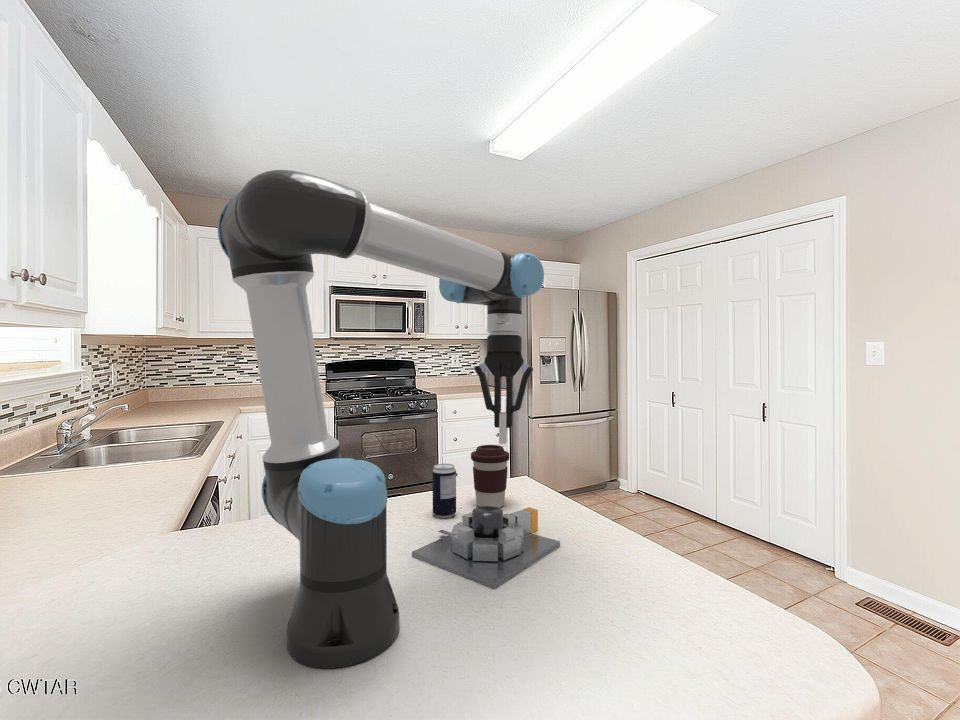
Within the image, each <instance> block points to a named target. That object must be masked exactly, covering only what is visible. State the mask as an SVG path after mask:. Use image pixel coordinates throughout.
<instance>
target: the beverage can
mask: <svg viewBox="0 0 960 720" xmlns="http://www.w3.org/2000/svg"><path fill="white" fill-rule="evenodd" d="M431 475H432V513H433V515H435V517H436V518H439V519H449V518H451V517H454V515H455V513H456V512H457V470H456V467H455V464H453V463H437V464H435V465H434V466H433V470H432V473H431Z"/></svg>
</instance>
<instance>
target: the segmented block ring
mask: <svg viewBox="0 0 960 720" xmlns="http://www.w3.org/2000/svg"><path fill="white" fill-rule="evenodd" d="M536 531H537V532H539V509H537V508H533V507H530V506H528V507H526V508H523V509H520V510H517V511H514V512H513V511H512V512H511V513H503V529H501V530H499V537H498V538H476V537H474V529H472V512H469V513H465V514H462V521H461V522H460V521H459V522H457V523H456V524H455V525H453V527H452V530H451V532H450V533H451V549H452V552H454V553H456V554H458V555H460V556H462V557H464V558H466V559H470V558H473V561H498V558H499V559H501V560H506V559H509V558H511V557H514V556H516V555H519V554H521V551H523V536H524V535H527V534H530V533H534V532H536ZM534 534H535V533H534Z"/></svg>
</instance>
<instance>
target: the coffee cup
mask: <svg viewBox="0 0 960 720" xmlns="http://www.w3.org/2000/svg"><path fill="white" fill-rule="evenodd" d="M470 459H471V461H472V464H473V466H472V473H473V487H474V490H475V502H476V503H475V504H476V506H478V507H483V506H492V507H497V508H500V509H501V508H502V507H504V505H505V502H506V501H505V500H506V499H505V498H506V497H505V496H506V490H507V483H508V482H507V481H508V480H507V479H508V462H509V460H510V452H508V451H506V450H505V448H504V446H502V445H500V444H499V445H498V444H497V445H496V444H482V445H479V446H476V449H475V450H474V451H472V452H471V453H470Z"/></svg>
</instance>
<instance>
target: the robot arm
mask: <svg viewBox="0 0 960 720" xmlns="http://www.w3.org/2000/svg"><path fill="white" fill-rule="evenodd" d="M217 237H218V242H219V244H220V247H221V249H222V251H223V253H224V254H225V256H226V257H227V258H228V261H229V266H230V272H231V276H232V277H231V279H232V281H233V283H235V284H236V285H237V286H239V287H240V288H241V289H243V290H244V291H245V293H246V300H247V307H248V311H249V318H250V324H251V329H252V335H253V341H254V347H255V348H254V349H255V354H256V360H257V366H258V367H257V368H258V372H259V378H260V383H261V385H260V386H261V390H262V396H263V401H264V402H263V403H264V409H265V414H266V420H267V421H266V422H267V427H268V433H269V438H270V440H269V441H270V443H271V444H270V446H269V447H268V448H267V450H266V451H265V452H264V454H263V456H262V461H263V467H264V468H263V469H264V476H263V479H262V483H261V498H262V502H263V504H264V506H265V509H266V512H267V513H268V514H269V516H271V518H272V519H273V520H274V521H275V522H277V523H278V524H279V525H280V526H282V527H283V528H284V529H286V530H287V531H288V532H289V534H290V533H291V535H293V536H294V537H295V538H296V539H297V540H298V542H299V575H300V576H299V587H298V591H297V593H296V596H295V601H294V603H293V608H292V611H291V615H290V618H289V620H288V622H287V626H286V627H287V628H286V648H287V653H289V655H290V656H291V657H292V658H293V660H295V661H297V662H298V663H301V664H303V665H306V666H309V667H314V668H322V669H323V668H324V669H325V668H326V669H328V668H329V669H332V668H343V667H347V666H353V665H356V664H360V663H362V662H365V661H368V660H370V659H372V658H374V657H376V656H378V655H380V654H381V653H382V652H384V651H385V650H386V649H387V648H389V647H390V646H391V645H392V644H393V643H394V642H395V640H396V639H397V637H398V634H399V632H400V609H399V605H398V603H397V599H396V596H395V593H394V591H393V587H392V585H391V583H390V579H389V577H388V576H389V575H388V572H387V557H388V556H387V503H388V490H387V486H386V485H387V484H386V476H385V474H384V472H383V471H382V470H381V468H380V467H379V466H378V465H376V464H375V463H372V462H370V461H367V460H363V459H355V458H349V457H342V453H341V446H340V442H339V440H338V439H337V438H335V437H334V436H332V435H330V434H329V433H328V427H327V425H328V424H327V420H326V413H325V407H324V400H323V393H322V386H321V381H320V380H321V379H320V374H319V367H318V360H317V353H316V347H315V339H314V334H313V333H314V332H313V328H312V320H311V314H310V308H309V302H308V295H307V285H308V284H309V283H310V281H311V280H312V279H313V277H314V276H315V272H314V267H313V258H312V255H327V256H332V257H336V258H341V259H345V260H348V259H350V258H352V257H353V256H355V255H356V256H359V257H363V258H366V259H371V260H374V261H377V262H381V263H383V264H387V265H392V266H395V267H398V268H401V269H405V270H409V271H412V272H415V273H416V272H417V273H418V274H419V273H420V274H424V275H426V276H430V277H434V278H437V279H438V282H439V283H438V284H439V286H438V287H439V288H438V289H439V293H440V295H441V296H442V299H444V300H445V301H448V302H453V303H456V304H467V305H468V304H469V305H470V304H471V305H481V306H486V307H487V318H486V319H487V323H486V326H487V328H486V330H487V331H486V332H487V333H488V334H489V335H487V337H486V355H485V357H484V361H483V362H482V363H481V364H479V365H476V366H475V367H474V371H475V372H476V375H477V376H478V378H479V382H480V386H481V391H482V395H483V401H484V404H485V409H486V410H487V411H491V412H492V413H493V415H494V416H493V417H494V418H493V421H494V422H493V423H494V424H493V425H494V428H498V444H499V445H501V444H502V445H507V443H508V429H511V428H512V426H513V415H514V414H513V413H514V412H517V411H520V409H521V408H522V404H523V401H524V400H523V399H524V397H525V393H526V389H527V385H528V381H529V378H530V376H531V375H532V373H533V372H534V367H533V366H530V365H528V364H527V363H525V362H524V361H525V359H524V358H523V355H522V348H523V347H522V343H523V342H522V341H523V340H522V336H521V335H520V334H521V333H522V331H523V326H522V323H523V314H522V311H523V298H524V297H527V296H531V295H532V296H533V295H535V294H537V293H538V292H539V291H540V290H541V288H542V287H543V285H544V279H545V277H544V276H545V270H544V266H543V263H542V262H541V260H540V258H538V257H537V256H536V255H535V254H533V253H530V252H524V253H521V252H520V253H516V254H510V253H506V252H503V251H500V250H497V249H494V248H492V247H490V246H487V245H485V244H482V243H479V242H476V241H473V240H471V239H468V238H465V237H463V236H459V235H457V234H454V233H452V232H449V231H446V230H443V229H441V228H439V227H436V226H433V225H430V224H428V223H425V222H422V221H420V220H416V219H413V218H411V217H408V216H406V215H403V214H400V213H398V212H394V211H392V210H389V209H387V208H385V207H381V206H378V205H376V204H373V203H370V202H369V201H368V199H367V197H366V195H365V193H363V192H362V191H360V190H357V189H354V188H352V187H348V186H346V185H343V184H341V183H338V182H335V181H332V180H329V179H327V178H325V177H324V178H323V177H321V176H320V177H319V176H316V175H313V174H309V173H305V172H300V171H298V170H297V171H296V170H292V169H291V170H290V169H275V170H267V171H264V172H262V173H259V174H257V175H255V176H254V177H252V178H251V179H250V180H248V181H247V183H245V185H244V186H243V188H242V189H241V190H240V191H239V192H238V193H237V194H236V195H235V196H233V197H232V198H231V199H230V200H229V201H228V202H227V203H226V204H225V206H224V207H223V208H222V211H221V213H220V216H219V219H218V223H217ZM520 369H521V374H522V378H521V380H520V384H519V388H518V392H517V396H516V400H515V404H514V403H513V402H514V396H513V395H514V376H516V374H517V373H518V372H519V370H520ZM487 370H489V371H490V373H491V374H492V376H493V377H494V378H493V381H494V384H493V385H494V389H493V391H494V394H493V395H494V399H493V398H492V396H491V395H492V394H491V391H490V386H489V383H488V378H487V374H486V373H487V372H488V371H487ZM503 377H505V381H506V384H505V387H506V388H505V389H506V391H505V394H506V396H505V411H502V382H503V381H502V378H503ZM492 399H493V400H492ZM501 411H502V412H501Z"/></svg>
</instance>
